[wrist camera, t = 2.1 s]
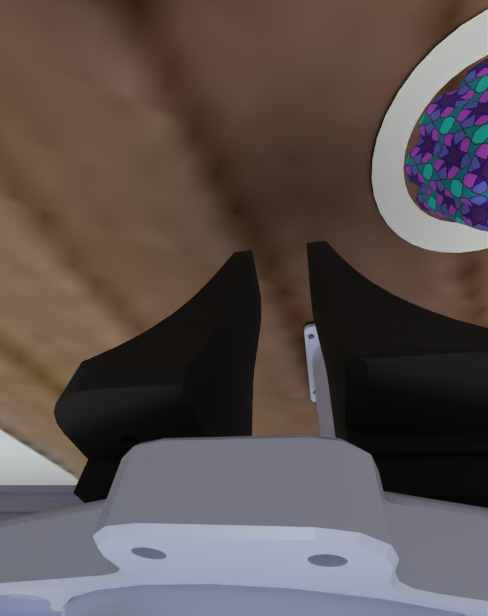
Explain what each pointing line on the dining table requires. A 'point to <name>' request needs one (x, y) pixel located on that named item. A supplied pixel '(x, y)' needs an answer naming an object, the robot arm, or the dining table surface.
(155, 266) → the dining table surface
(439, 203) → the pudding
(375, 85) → the dining table surface
